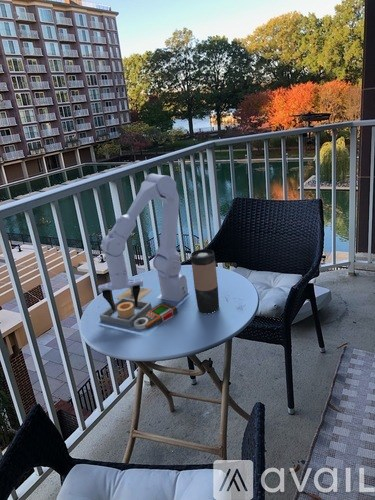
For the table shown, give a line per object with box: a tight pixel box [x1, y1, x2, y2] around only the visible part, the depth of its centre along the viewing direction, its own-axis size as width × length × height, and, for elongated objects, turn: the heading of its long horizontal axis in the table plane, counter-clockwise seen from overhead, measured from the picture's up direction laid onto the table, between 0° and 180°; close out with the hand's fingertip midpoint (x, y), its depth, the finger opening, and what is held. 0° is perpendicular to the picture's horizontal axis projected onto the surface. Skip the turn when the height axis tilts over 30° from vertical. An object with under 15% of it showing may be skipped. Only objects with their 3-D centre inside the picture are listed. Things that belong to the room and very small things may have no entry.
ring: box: [116, 302, 136, 319], centre depth 125 cm, size 7×6×3 cm
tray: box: [99, 298, 153, 328], centre depth 125 cm, size 12×12×2 cm
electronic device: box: [133, 301, 179, 330], centre depth 120 cm, size 7×3×15 cm
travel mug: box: [190, 248, 220, 315], centre depth 120 cm, size 8×8×20 cm
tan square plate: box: [115, 287, 153, 301], centre depth 137 cm, size 10×10×4 cm
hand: (125, 307), depth 124 cm, fingers open, 7 cm apart
